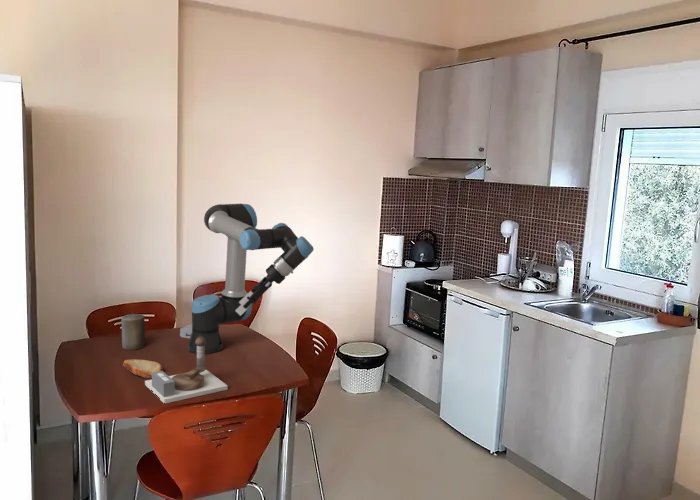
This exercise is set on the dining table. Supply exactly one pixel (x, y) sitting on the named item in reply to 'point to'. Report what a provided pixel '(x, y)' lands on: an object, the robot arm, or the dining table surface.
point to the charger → (186, 331)
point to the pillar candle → (133, 331)
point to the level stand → (168, 393)
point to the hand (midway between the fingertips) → (239, 308)
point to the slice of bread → (142, 367)
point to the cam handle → (193, 377)
